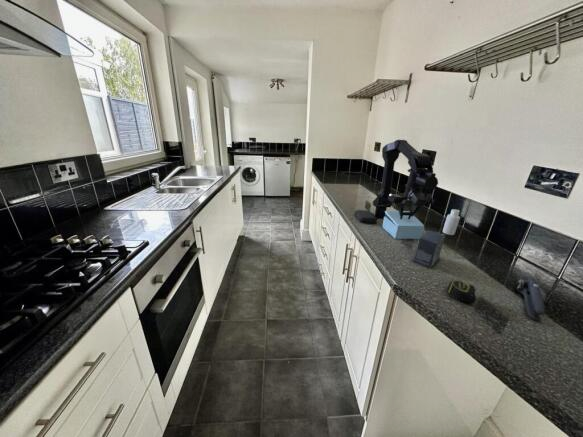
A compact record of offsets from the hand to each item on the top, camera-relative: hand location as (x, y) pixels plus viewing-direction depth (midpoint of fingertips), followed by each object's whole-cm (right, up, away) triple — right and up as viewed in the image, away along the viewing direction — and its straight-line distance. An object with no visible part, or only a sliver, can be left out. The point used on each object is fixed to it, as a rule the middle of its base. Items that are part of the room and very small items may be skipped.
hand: (406, 216), depth 109 cm
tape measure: (-2, -25, -38) cm, 46 cm away
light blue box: (0, -8, +5) cm, 9 cm away
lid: (0, -1, +2) cm, 3 cm away
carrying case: (-13, -1, +20) cm, 24 cm away
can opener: (+17, -27, -40) cm, 51 cm away
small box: (-2, -17, -19) cm, 26 cm away
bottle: (+24, -8, +7) cm, 27 cm away
